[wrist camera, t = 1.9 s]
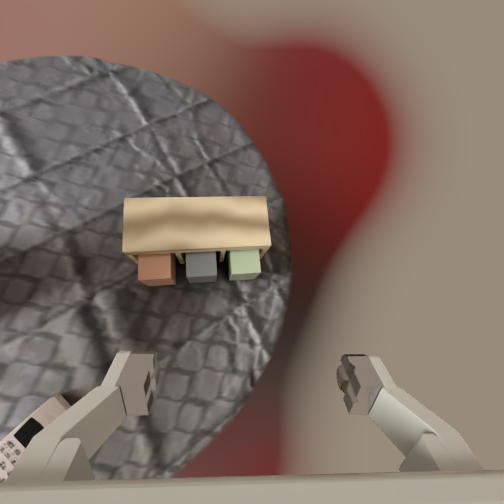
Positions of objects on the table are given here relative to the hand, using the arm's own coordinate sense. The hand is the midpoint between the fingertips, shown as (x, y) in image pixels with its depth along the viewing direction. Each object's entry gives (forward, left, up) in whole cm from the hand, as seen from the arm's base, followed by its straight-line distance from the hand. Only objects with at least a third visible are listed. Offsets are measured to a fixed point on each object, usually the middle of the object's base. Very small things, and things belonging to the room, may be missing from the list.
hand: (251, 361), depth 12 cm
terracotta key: (+3, +17, -38) cm, 42 cm away
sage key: (+13, +5, -38) cm, 41 cm away
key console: (+12, +14, -39) cm, 43 cm away
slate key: (+8, +11, -38) cm, 41 cm away
